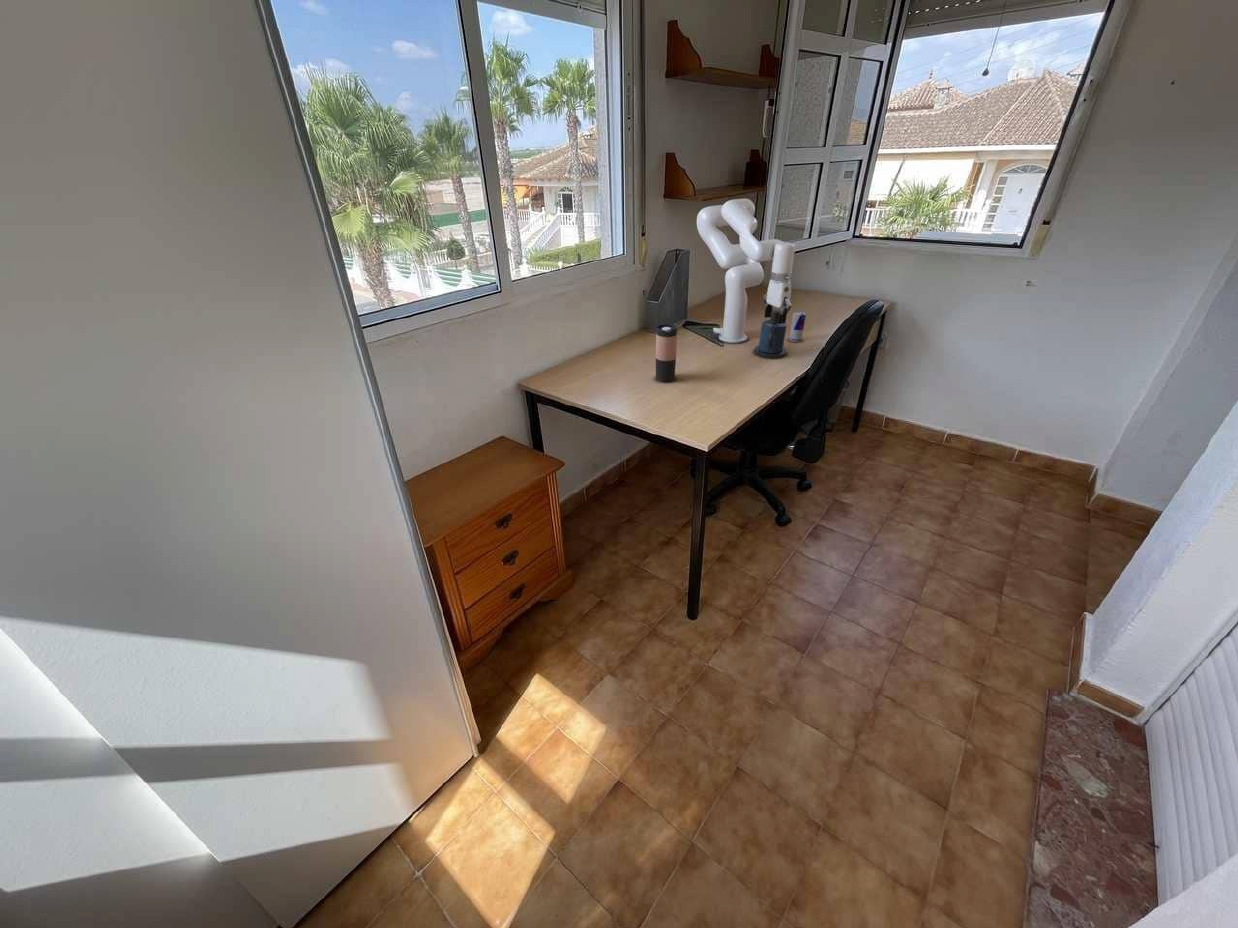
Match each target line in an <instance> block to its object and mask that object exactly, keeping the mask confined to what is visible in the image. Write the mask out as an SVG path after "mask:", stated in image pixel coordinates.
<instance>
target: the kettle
mask: <svg viewBox="0 0 1238 928" xmlns="http://www.w3.org/2000/svg"><path fill="white" fill-rule="evenodd" d="M779 314H781V313H780V310H778V309H773V310H772V311H771V317H769V319H765V320H762V321H761V324H760V333H759V341H758V346H759V347H758V349H759V350H760V351H763V352H766V353H779V352H781V351H783V348H784V345H785V338H786V332H787V325H788V324H787V322H785V323H784V324H778V319H779Z"/></svg>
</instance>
